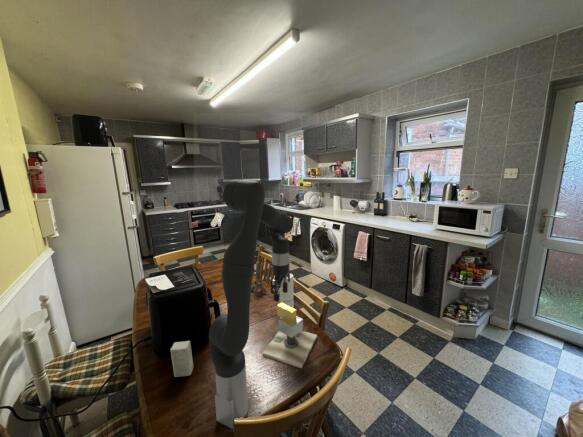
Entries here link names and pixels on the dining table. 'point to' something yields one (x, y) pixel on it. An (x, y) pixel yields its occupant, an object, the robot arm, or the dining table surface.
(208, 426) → the dining table surface
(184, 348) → the skincare box
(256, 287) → the eiffel tower
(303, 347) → the post base
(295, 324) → the coupling
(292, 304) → the tall white block
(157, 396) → the dining table surface
